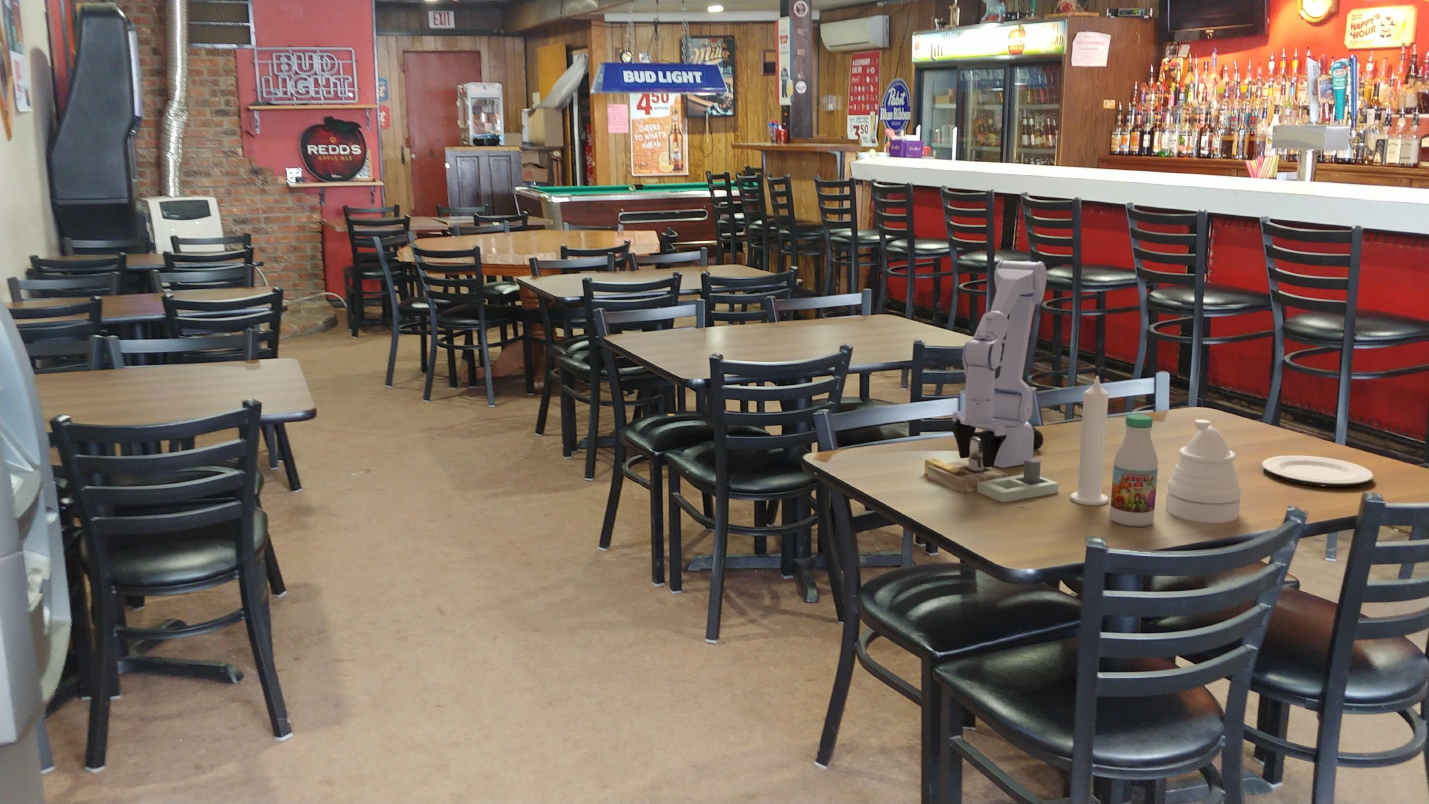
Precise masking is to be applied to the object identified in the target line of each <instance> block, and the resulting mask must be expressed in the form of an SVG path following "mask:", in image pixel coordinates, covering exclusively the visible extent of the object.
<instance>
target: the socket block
mask: <svg viewBox="0 0 1429 804" xmlns="http://www.w3.org/2000/svg"><path fill="white" fill-rule="evenodd" d="M946 463H947V462H946ZM947 464H949V465H952V466H954V467H957V468H959V469H962V470H964V473H963V476H959V477H958V476H956V475H953V474H951V473H949V472H946V471H944V470H941V469H939V468H936V467H934V466H928V475H927V479H930V480H932V481H934V482H937V483H939V484H941V485H944V486H946V487H948V488H951V489H952V490H955V491H958V492H961V493H962V494H965V493H970V492H977V482H981V481H987V480H993V479H999V478H1005V477H1008V473H1006V472H1003V471H1001V470H999V469H998V470H997V469H995V468H992V467H984V472H981V473H975V474H974V473H972V472H969V471H968V469H969V459H965V460H959V461H954V462H948V463H947Z"/></svg>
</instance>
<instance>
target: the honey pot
mask: <svg viewBox="0 0 1429 804" xmlns="http://www.w3.org/2000/svg"><path fill="white" fill-rule="evenodd" d="M1194 424H1195V427H1196V429H1197V430H1198V431H1197V432H1195V434H1194V435H1193V436H1192V438H1191V439H1190V440H1189V441H1188V444H1187V446H1186V445H1185V446H1183V447H1180V448H1179V450H1178V454H1179V456H1180V459H1179V460H1178V462H1177V463H1176V465H1174V466H1175V467H1174V470H1173V472H1172V474H1171V477H1170V478H1169V480H1168V482H1167V492H1166V500H1165V509H1166V511H1167V512H1168V513H1169V514H1171V515H1172V516H1175V517H1177V518H1181V519H1184V520H1189V521H1193V522H1200V523H1212V524H1213V523H1214V524H1215V523H1217V524H1219V523H1230V522H1233V521H1235V520H1238V518H1239V517H1240V506H1241V496H1242V495H1241V493H1242V488H1241V486H1240V484H1239V478H1238V476H1237V473H1238V472H1237V470H1236V468H1235V464H1234V461H1235V460H1237V459H1236V458H1237V455H1236V453H1235V452H1233V451H1232V450H1230V449H1229V446H1228V444H1227V442H1226V440H1225V439H1224V437H1223V435H1222V434H1221V432H1220V431H1219V430H1218V429H1216V428H1215V427H1214V426H1211V425H1210V424H1211V421H1210V420H1206V419H1195V420H1194Z"/></svg>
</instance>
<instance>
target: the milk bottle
mask: <svg viewBox="0 0 1429 804" xmlns="http://www.w3.org/2000/svg"><path fill="white" fill-rule="evenodd" d="M1125 417H1126V418H1125V429H1126V431H1125V434H1124V437H1123V439H1122V442H1121V443H1120V445H1119V446H1118V448H1117V450H1116V452H1115V456H1114V460H1113V468H1112V479H1111V480H1112V481H1111V492H1110V506H1109V507H1110V508H1109V518H1110V520H1111V521H1113V523H1116V524H1118V525H1121V526H1126V527H1136V528H1137V527H1139V528H1140V527H1147V526H1150V525H1152V524H1153V522H1154V517H1155V511H1156V509H1155V508H1156V507H1155V506H1156V496H1157V485H1158V484H1157V483H1158V467H1159V466H1158V465H1159V464H1158V463H1159V462H1158V461H1159V460H1158V455H1157V451H1156V449H1155V447H1154V444H1153V441H1152V436H1151V435H1152V434H1151V431H1152V430H1153V427H1152V426H1153V424H1154V423H1153V422H1154V421H1153V417H1151V416H1149V415H1146V414H1140V413H1139V414H1134V413H1133V414H1128V415H1127V416H1125Z"/></svg>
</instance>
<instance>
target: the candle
mask: <svg viewBox="0 0 1429 804" xmlns="http://www.w3.org/2000/svg"><path fill="white" fill-rule="evenodd" d="M1109 395H1110V394H1109V391H1107V390H1105V389H1104V388H1103V387H1102V384H1101V381H1100V376H1099V375H1096V376H1095V379H1094V383H1093V384H1092V386H1090V387H1089V388H1088V389H1086V390H1085V391H1084V392H1083V405H1082V417H1081V431H1080V432H1081V433H1080V434H1081V435H1080V446H1079V447H1080V449H1079V463H1078V464H1079V465H1078V478H1077V480H1078V481H1077V491H1074V492H1072V493H1070V496H1069V499H1070V501H1072V502H1073V503H1076V504H1078V505H1079V504H1080V505H1084V506H1102V505H1106V504H1108V501H1109V496H1107V495H1105V494H1103V492H1102V490H1103V481H1104V479H1103V477H1104V467H1105V465H1104V464H1105V453H1106V449H1105V448H1106V436H1107V424H1108V422H1107V421H1108V409H1109V408H1108V407H1109Z"/></svg>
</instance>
